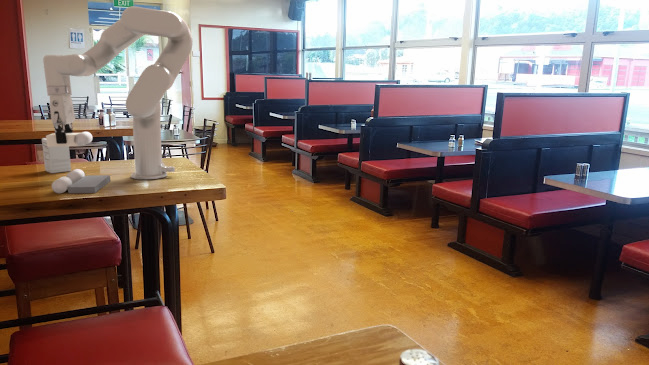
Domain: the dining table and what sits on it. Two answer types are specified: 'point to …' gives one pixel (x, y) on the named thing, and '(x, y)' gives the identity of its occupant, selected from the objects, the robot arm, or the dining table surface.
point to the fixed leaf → (80, 182)
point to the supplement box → (56, 158)
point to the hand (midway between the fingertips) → (65, 141)
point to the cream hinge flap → (70, 139)
